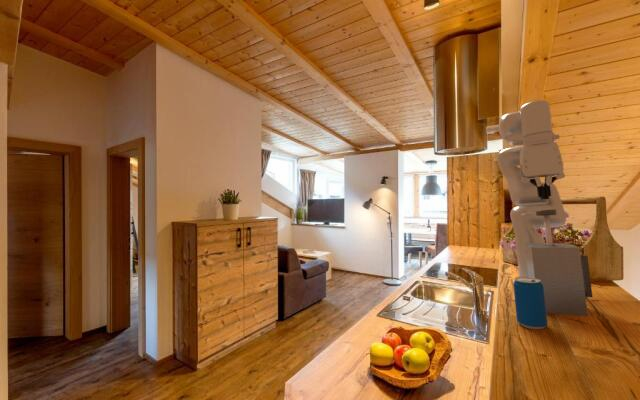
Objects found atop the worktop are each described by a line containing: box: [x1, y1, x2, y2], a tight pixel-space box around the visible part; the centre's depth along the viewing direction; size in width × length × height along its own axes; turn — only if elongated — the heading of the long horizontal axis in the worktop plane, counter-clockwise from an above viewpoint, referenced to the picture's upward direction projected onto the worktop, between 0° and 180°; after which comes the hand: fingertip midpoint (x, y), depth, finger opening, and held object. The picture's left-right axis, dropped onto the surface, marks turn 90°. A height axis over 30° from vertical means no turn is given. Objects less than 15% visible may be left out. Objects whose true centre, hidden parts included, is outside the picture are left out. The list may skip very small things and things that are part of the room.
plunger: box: [536, 209, 557, 246], centre depth 86 cm, size 9×9×19 cm
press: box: [525, 242, 593, 317], centre depth 85 cm, size 11×14×19 cm
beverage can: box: [512, 276, 548, 330], centre depth 74 cm, size 6×6×12 cm
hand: (544, 199), depth 87 cm, fingers closed
